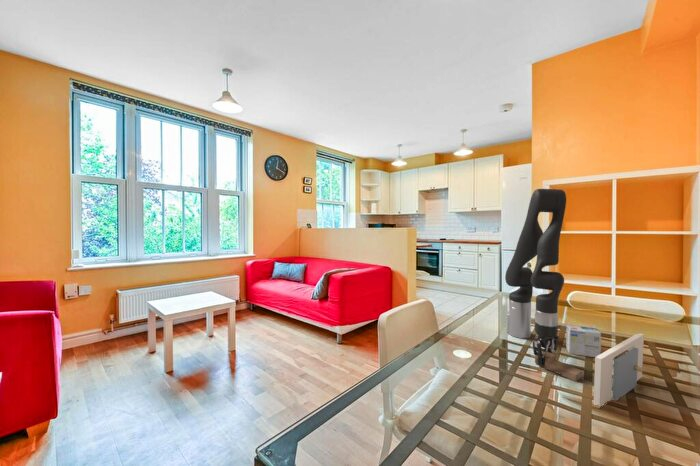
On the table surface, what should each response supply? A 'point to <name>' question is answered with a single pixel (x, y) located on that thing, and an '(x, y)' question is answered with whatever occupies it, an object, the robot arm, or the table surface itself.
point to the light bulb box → (583, 340)
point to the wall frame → (606, 365)
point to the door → (625, 373)
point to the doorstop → (560, 367)
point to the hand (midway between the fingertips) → (545, 363)
